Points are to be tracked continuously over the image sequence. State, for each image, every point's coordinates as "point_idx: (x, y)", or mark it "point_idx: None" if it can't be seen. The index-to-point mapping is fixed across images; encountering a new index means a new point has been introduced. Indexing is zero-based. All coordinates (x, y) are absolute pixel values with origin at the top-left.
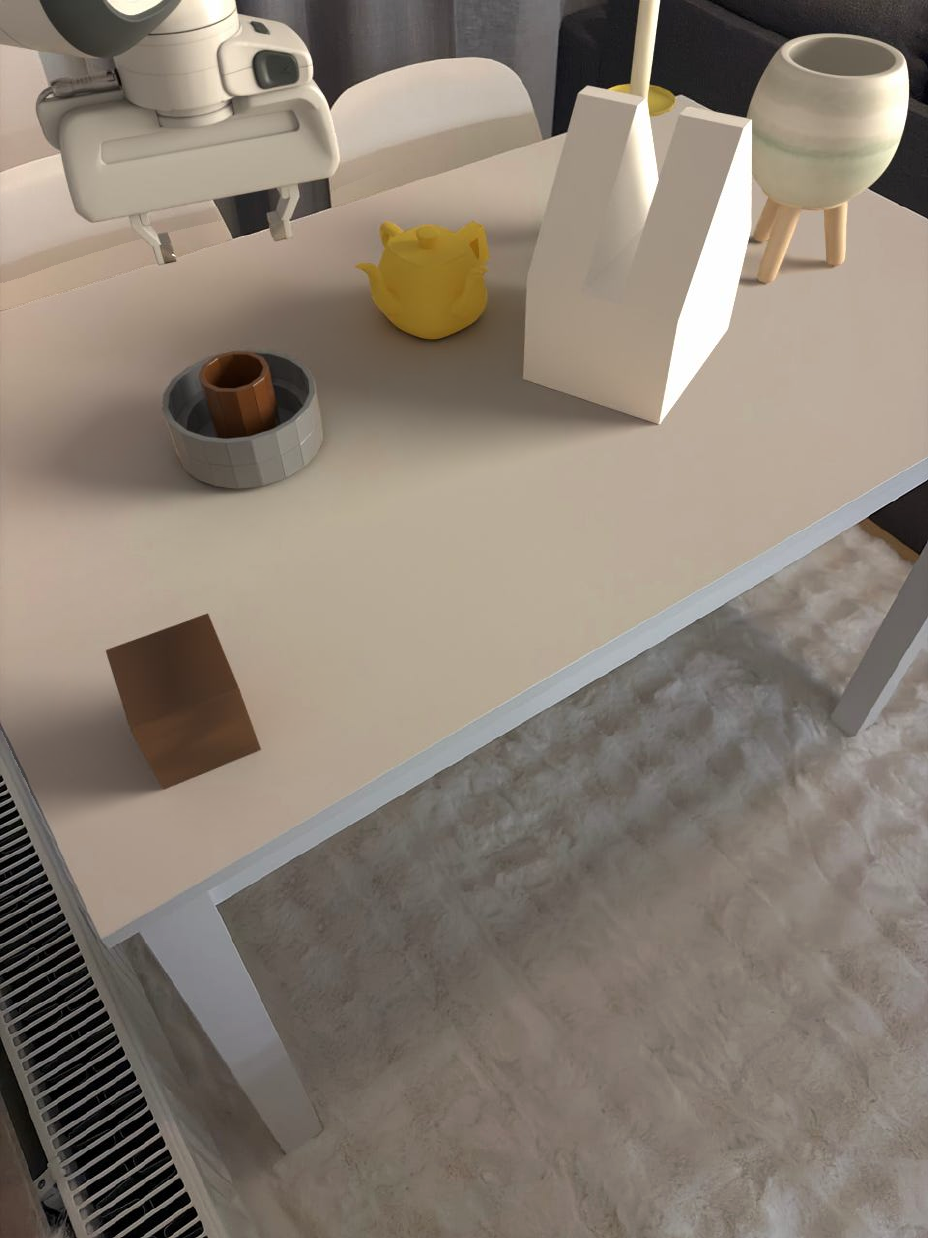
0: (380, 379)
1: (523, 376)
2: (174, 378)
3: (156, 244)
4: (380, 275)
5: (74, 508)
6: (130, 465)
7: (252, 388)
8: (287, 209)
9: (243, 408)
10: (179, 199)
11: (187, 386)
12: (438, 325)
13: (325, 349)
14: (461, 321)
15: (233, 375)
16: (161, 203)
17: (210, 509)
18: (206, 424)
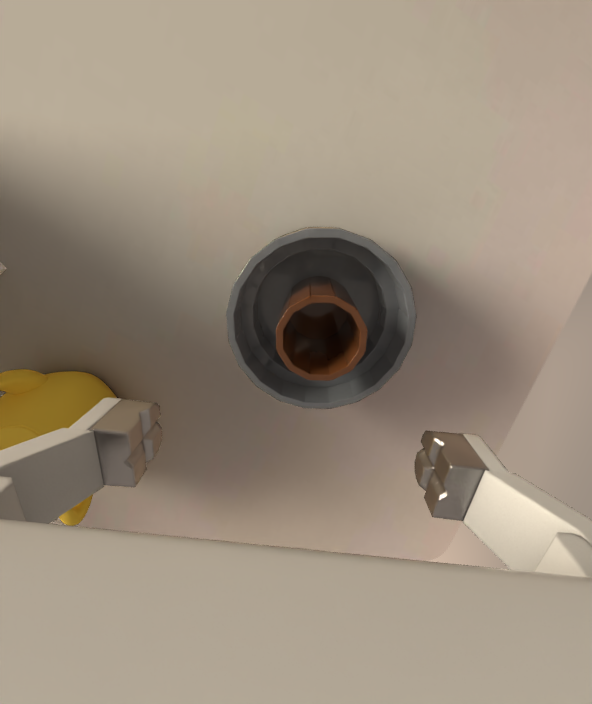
0: (161, 342)
1: (3, 268)
2: (376, 389)
3: (500, 472)
4: None
5: (512, 298)
6: (437, 334)
7: (311, 294)
8: (43, 447)
9: (328, 289)
10: (482, 597)
11: (362, 382)
12: (71, 375)
13: (202, 410)
14: (46, 374)
15: (315, 361)
16: (585, 604)
17: (396, 225)
18: None
